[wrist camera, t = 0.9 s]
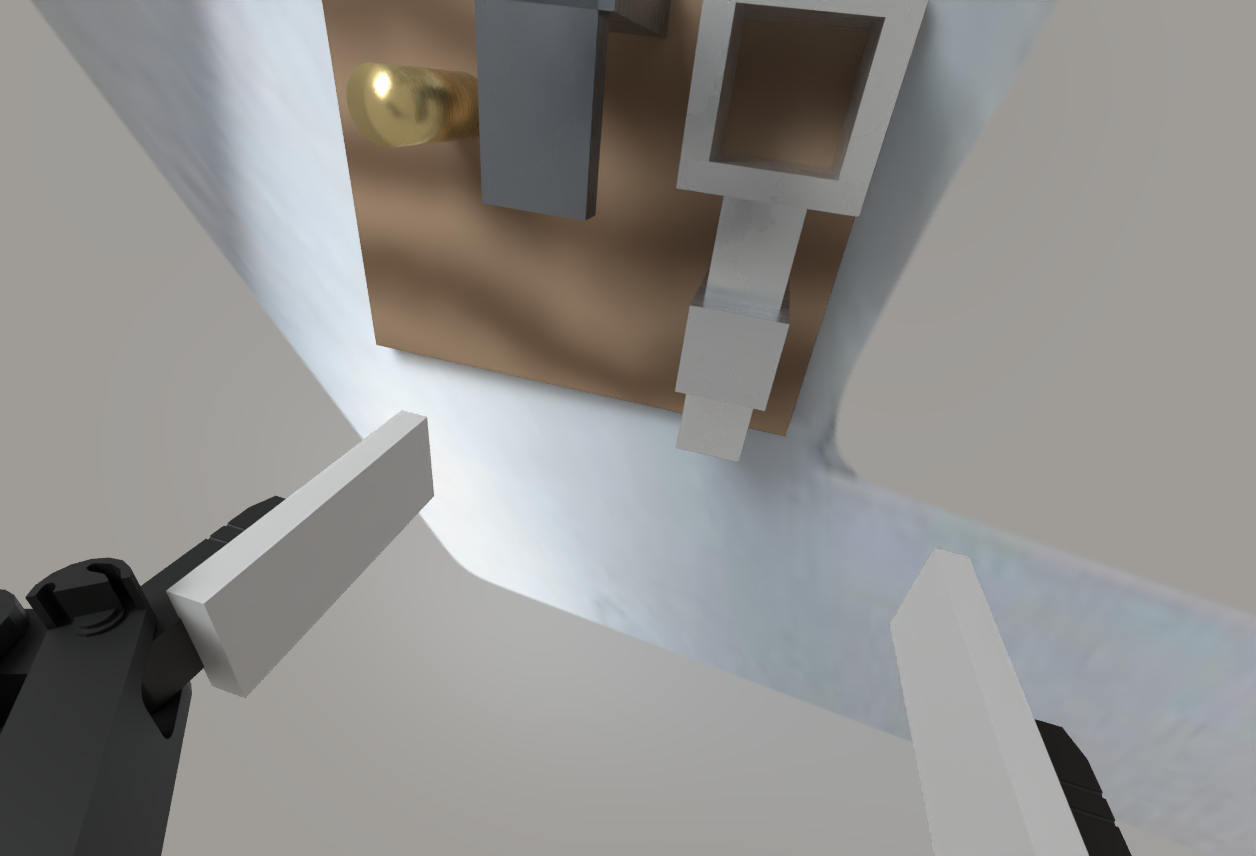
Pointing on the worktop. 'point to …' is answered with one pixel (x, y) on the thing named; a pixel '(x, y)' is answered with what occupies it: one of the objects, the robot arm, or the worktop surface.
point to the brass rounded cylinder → (412, 104)
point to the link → (769, 205)
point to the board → (625, 208)
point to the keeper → (548, 96)
